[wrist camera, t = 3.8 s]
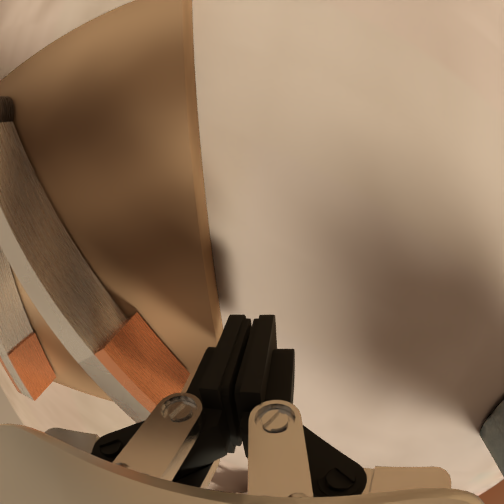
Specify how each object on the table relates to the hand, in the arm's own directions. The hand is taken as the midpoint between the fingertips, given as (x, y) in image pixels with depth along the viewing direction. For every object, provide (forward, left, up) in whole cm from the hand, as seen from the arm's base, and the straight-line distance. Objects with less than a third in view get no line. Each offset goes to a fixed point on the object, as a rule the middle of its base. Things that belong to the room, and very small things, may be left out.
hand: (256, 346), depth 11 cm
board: (-4, -11, -3) cm, 12 cm away
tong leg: (-5, -10, -1) cm, 11 cm away
